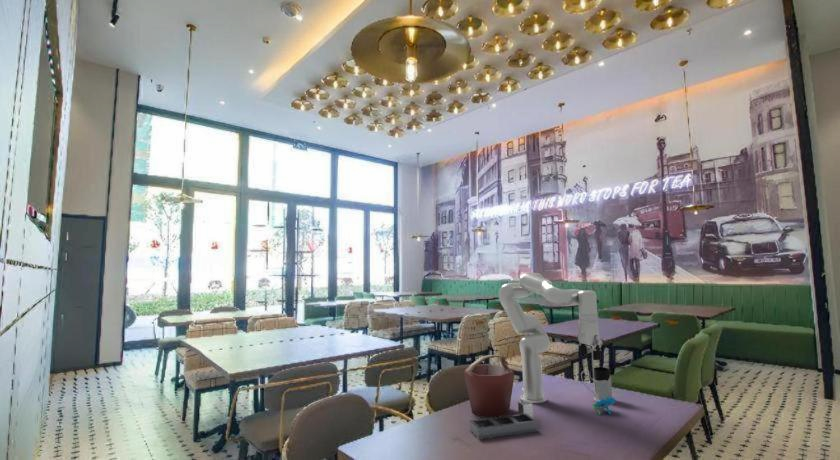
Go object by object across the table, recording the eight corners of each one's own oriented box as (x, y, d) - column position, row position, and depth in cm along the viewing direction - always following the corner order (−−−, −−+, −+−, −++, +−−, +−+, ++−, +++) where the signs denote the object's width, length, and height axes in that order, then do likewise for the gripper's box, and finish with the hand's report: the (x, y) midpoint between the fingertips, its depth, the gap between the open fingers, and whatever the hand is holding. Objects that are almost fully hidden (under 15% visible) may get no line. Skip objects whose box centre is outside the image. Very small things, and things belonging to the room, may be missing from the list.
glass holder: (615, 403, 189) (612, 371, 191) (583, 401, 193) (581, 370, 195) (611, 397, 198) (609, 367, 199) (581, 395, 202) (579, 365, 203)
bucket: (502, 400, 197) (500, 349, 199) (527, 415, 176) (524, 358, 178) (457, 406, 189) (456, 353, 192) (477, 423, 168) (475, 363, 171)
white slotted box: (518, 418, 173) (518, 401, 174) (527, 416, 174) (527, 399, 175) (524, 421, 169) (523, 404, 170) (533, 420, 170) (532, 403, 171)
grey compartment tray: (478, 439, 152) (478, 428, 152) (469, 430, 161) (469, 420, 161) (538, 431, 159) (537, 421, 159) (526, 423, 167) (526, 413, 168)
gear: (610, 404, 184) (616, 393, 177) (617, 416, 179) (623, 406, 173) (588, 409, 182) (593, 398, 176) (594, 421, 178) (600, 411, 172)
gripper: (570, 316, 184) (571, 353, 182) (592, 321, 167) (594, 362, 165) (584, 315, 185) (586, 352, 184) (608, 320, 168) (610, 361, 167)
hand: (590, 357), depth 174 cm, fingers open, 9 cm apart
